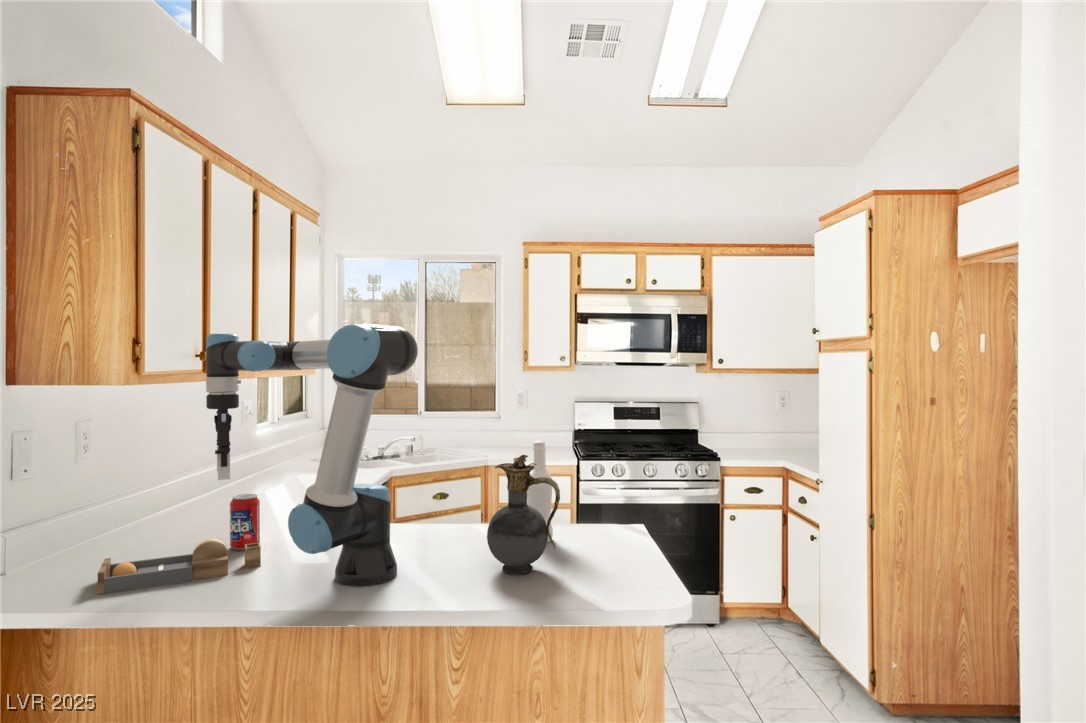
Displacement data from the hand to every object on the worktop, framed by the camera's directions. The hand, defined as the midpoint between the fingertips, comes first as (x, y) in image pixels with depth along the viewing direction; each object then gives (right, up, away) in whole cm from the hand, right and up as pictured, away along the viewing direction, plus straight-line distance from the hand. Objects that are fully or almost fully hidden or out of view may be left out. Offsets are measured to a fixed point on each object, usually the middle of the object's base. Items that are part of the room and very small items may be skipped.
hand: (223, 475), depth 165 cm
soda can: (-3, -25, +19) cm, 31 cm away
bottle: (+82, -25, +27) cm, 90 cm away
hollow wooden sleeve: (+6, -25, +4) cm, 26 cm away
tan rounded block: (-3, -25, -1) cm, 25 cm away
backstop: (-23, -25, -12) cm, 36 cm away
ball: (-19, -22, -10) cm, 31 cm away
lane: (-14, -25, -7) cm, 29 cm away
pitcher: (+78, -25, 0) cm, 82 cm away
